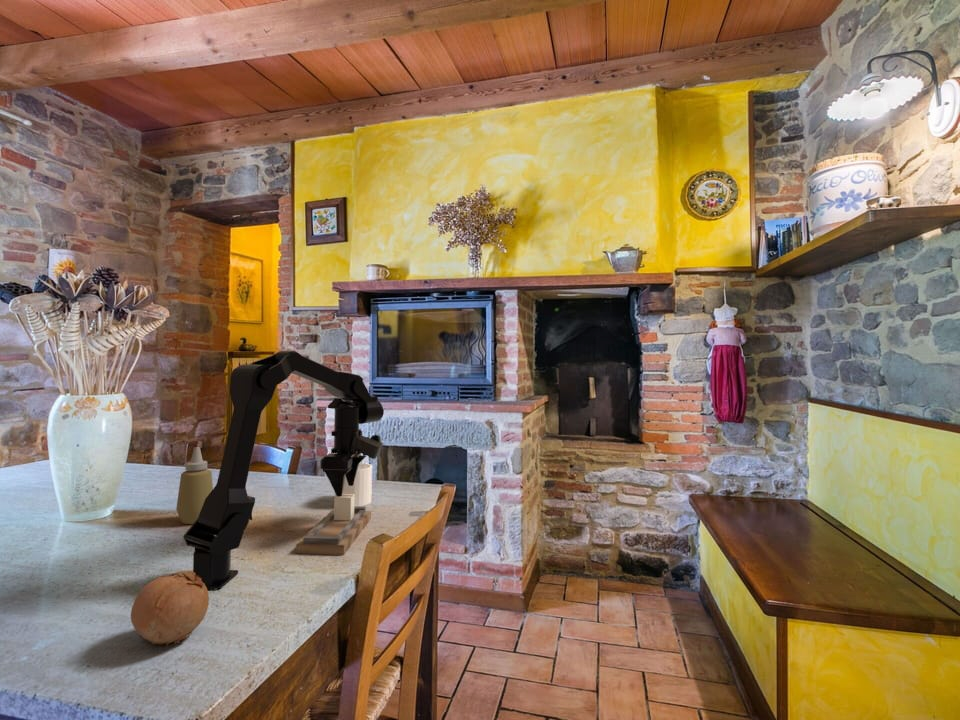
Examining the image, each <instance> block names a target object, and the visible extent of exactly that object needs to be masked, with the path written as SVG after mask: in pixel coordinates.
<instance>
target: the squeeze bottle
mask: <svg viewBox="0 0 960 720" xmlns="http://www.w3.org/2000/svg"><path fill="white" fill-rule="evenodd" d="M190 459H191V460H190V461H187V462H186V463H185V471H182V473H181V474H180V478H179V479H180V481H179V487H178V494H177V502H176V507H175V509H176V512H177V515H178V517H179V519H180V522H181V523H182V524H184V525H193V524H194V522H195V521H196V520H197V519H198V517H199V514H200V511H201V509H202V506H203V504H204V501H205V499H206V497H207V496H208V495H209V494H210V492H211V491H212V490H213V489H214V485H213V484H214V483H213V476H212V475H213V474H212V470H210V469H208V461H207V460H203V455H202V451H201V447H200V446H196V447H195V446H194V447H193V451H192V455H191V458H190Z"/></svg>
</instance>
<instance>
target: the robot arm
mask: <svg viewBox="0 0 960 720" xmlns="http://www.w3.org/2000/svg"><path fill="white" fill-rule="evenodd" d="M292 374H293V375H295V376H298V377H300V378H303V379H305V380H308V381H311V382H312V383H314V384H318V385H320V386H321V387H323V388H324V389H325V391H326V393H329V394H331V395H332V396H333V397H335V398H333V400H332V401H331V402H330V403H329V404H328V405H327V409H332V410H334V421H333V422H334V424H333V425H334V427H333V428H334V430H333V431H331V437H333V447H332V448H331V449H330V452H329V453H328V454H326V455H325V456H323V457H322V459H320V461H319V462H320V465H319V467H320V469H321V470H322V471H323V473H324V474H325V476H326V477H327V479H328V481H329V483H330V485H331V487H332V490H333V491H334V494H335V493H336V495H337V496H339V497H341V496H342V493H343V488H344V482H345V476H346V479H347V482H348V485H349V486H353V485H354V481H355V477H356V474H357V470H358V466H359V463H362V461H363V460H364V459H366V457H368V458H369V459H372V460H376V459H377V457H379V455H380V454H381V453H380V452H381V451H382V448H383V447H384V444H383V442H382V440H381V436H380V435H378V434H373V435H372V436H371V437H369V436H367V437H366V436H364V435H363V430H362V428H360V425H361V424H362V425H364V424H370V423H377V422H379V421H381V420H382V418H383V417H384V408H383V407H384V406H383V405H382V403H381V401H379V399H378V397H379V396H377V395H370V393H369V390H368V388H367V386H366V384H365V382H364V378H363V377H362V376H361V375H359V374H355V373H349V372H345V371H338V370H335V369H332V368H330V367H327V366H326V365H323V364H321V363H319V362H317V361H314V360H312V359H311V358H308V357H307V356H304V355H301V354H300V353H299V352H298V351H294V350H278V352H275V353H274V354H272V355H270V356H266V357H263V358H261V359H258V360H256V361H253V362H251V363H249V364H248V363H245V364H244V363H243V364H240V365H238V366H237V367H235V368H233V370H232V372H231V375H230V377H229V378H230V379H229V395H230V396H229V397H230V400H231V403H232V407H233V409H232V413H231V414H232V416H231V418H230V419H231V420H230V423H229V428H228V433H227V437H226V441H225V444H224V450H223V454H222V455H223V456H222V460H221V464H220V468H219V473H218V478H217V482H216V485H215V486H213V490H212V491H211V492H210V494H209V495H208V496H207V497H206V499H205V501H204V504H203V506H202V509H201V511H200V514H199V517H198V519H197V520H196V521H195V522H194V524H191V526H190V527H189V529H188V530H187V531H185V534H184V535H183V540H184V543H185V545H186V546H187V547H191V548H194V549H193V550H194V551H193V553H192V555H193V558H192V559H193V560H192V561H193V562H192V571H193V572H195V574H196V575H198V577H200V578H202V579H201V581H202V582H203V583H204V584H205V586H206V588H207V590H208V589H209V590H220V589H222V588H223V587H224V586H225V585H226V584H228V583H229V581H231V580H232V579H234V577H236V576H237V575H238V574H239V570H237V569H231V561H232V560H231V558H232V557H231V556H232V550H235V549H238V548H239V547H240V545H241V543H242V539H243V535H244V532H245V531H246V529H247V527H248V525H249V521H252V520H253V509H254V507H255V504H256V497H254V496H251V495H248V492H247V481H248V477H249V474H250V473H249V472H250V468H251V464H252V458H253V453H254V450H255V449H254V448H255V443H256V439H257V434H258V431H259V425H260V420H261V415H262V412H263V410H264V409H266V407H267V406H268V405H269V403H270V402H271V401H272V399H273V397H274V394H275V393H276V392H275V391H276V389H277V385H280V384H281V383H282V382H284V381H286V380H287V379H288V378H289V377H290V376H291V375H292Z"/></svg>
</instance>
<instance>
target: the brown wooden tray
mask: <svg viewBox="0 0 960 720" xmlns="http://www.w3.org/2000/svg"><path fill="white" fill-rule="evenodd" d="M366 509H367V506H364V507H357V506H354V517H353V518H352V519H351V521H348V520H334V509H332V510H330V511H329V512H327V514H326V515H325V516H323V518H322V519H321V520H319V522H318V523H317V524H316V525H314V527H312V529H310V530H309V531H308V532H307V533H306V534H305V535H304V536H303V537H302V538H301V539H300V540H299V541H298V542H296V546H295V547H296V548H295V550H296V551H295V553H296V554H300V555H301V554H304V555H306V554H307V555H331V556H332V555H338V556H339V555H341V556H344V555H345V554H346V553H347V552H348V550H349V549H350V548H351V547H352V546H353V544H354V543H355V541H356V540H357V538H358V537H359V535H361V533H362V531H363V530H364V529H365V528H366V527H367V525H368V524H369V522H370V521H371V519H372V510H371V511H370V510H366Z"/></svg>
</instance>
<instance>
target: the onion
mask: <svg viewBox="0 0 960 720" xmlns="http://www.w3.org/2000/svg"><path fill="white" fill-rule="evenodd" d="M201 579H202V578H200V577H198V575H196V574H195V572H193V570H183V571H182V570H181V571H178V572H174V573H172V574H171V573H170V574H169V575H168V574H167V575H162V576H161V577H157V578H155V579H153V580H152V581H150V582H148V583H146V585H145V586H143V588H142V589H141V590H140V591H139V592H138V594H137V596H136V597H135V599H134V601H133V604H132V606H131V611H130V620H131V624H132V626H133V628H134V630H135V631H136V632H137V634H139V638H143V639H145V640H146V641H147V642H148V643H150V644H152V645H164V644H165V645H166V646H168V645H169V644H170V643H174V644H177V643H178V644H179V643H180V641H181V640H183V639H186V638H187V637H189V636H190V635H191V634H193V631H194V630H195V629H196V628H197V627H198V626H199V625H200V624H201V622H202V621H203V620H204V619H205V616H206V614H207V611H208V609H209V608H208V607H209V604H210V603H209V601H210V596H209V591H208V589H207V588H206V586H205V584H204V583H203V582H202V581H201Z"/></svg>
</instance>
